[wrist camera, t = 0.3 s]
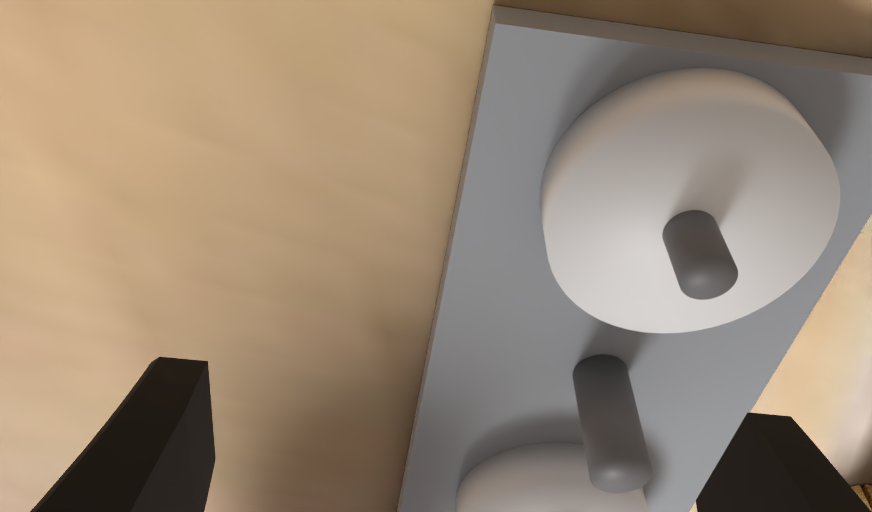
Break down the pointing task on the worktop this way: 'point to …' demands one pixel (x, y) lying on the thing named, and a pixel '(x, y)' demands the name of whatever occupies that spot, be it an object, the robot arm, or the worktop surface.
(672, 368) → the gear board
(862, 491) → the brass gear
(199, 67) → the worktop surface
